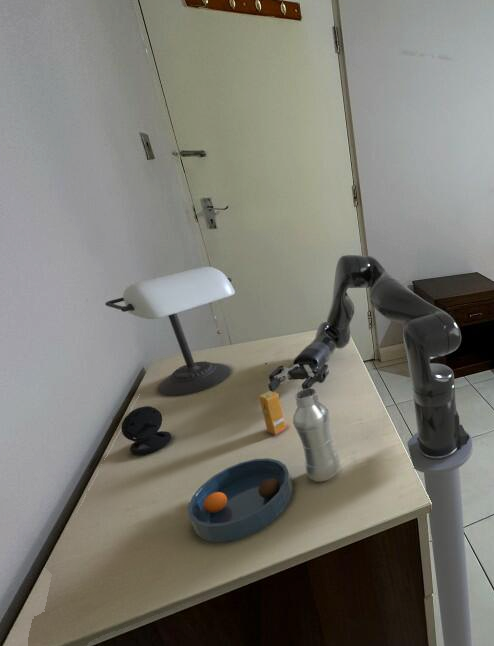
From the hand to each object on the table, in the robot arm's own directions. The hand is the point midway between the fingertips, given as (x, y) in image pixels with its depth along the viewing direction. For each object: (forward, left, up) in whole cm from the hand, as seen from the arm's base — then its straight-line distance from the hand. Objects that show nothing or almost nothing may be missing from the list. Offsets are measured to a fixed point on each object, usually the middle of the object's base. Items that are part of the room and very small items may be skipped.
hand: (287, 388), depth 102 cm
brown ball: (+1, +31, -4) cm, 31 cm away
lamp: (+27, -26, -7) cm, 38 cm away
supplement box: (+3, +8, -7) cm, 11 cm away
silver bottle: (-8, +28, -7) cm, 30 cm away
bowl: (+6, +31, -7) cm, 32 cm away
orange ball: (+10, +31, -4) cm, 33 cm away
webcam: (+30, +3, -7) cm, 31 cm away
